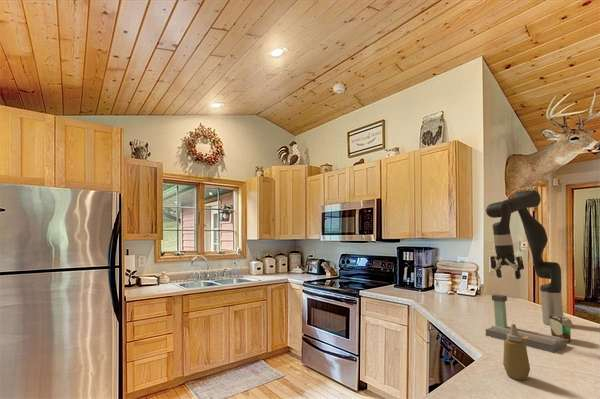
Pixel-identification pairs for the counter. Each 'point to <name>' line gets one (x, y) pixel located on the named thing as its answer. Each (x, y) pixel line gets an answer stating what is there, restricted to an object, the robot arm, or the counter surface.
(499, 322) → the fader tab
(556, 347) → the slider console
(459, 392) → the counter surface
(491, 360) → the counter surface
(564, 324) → the food container
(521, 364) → the squeeze bottle
